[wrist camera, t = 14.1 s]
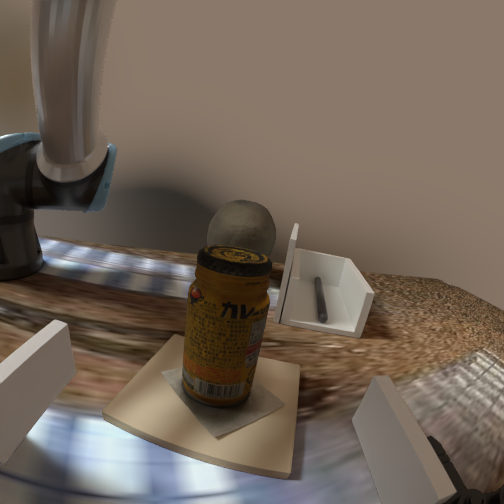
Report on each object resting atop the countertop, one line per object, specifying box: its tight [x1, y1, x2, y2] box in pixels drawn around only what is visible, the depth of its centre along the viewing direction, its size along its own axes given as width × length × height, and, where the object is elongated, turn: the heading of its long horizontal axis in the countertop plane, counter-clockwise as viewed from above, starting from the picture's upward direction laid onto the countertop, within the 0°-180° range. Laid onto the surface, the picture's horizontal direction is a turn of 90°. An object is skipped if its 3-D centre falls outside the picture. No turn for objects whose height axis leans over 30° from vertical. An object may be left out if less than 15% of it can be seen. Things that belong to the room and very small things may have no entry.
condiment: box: [161, 245, 285, 437], centre depth 20 cm, size 7×8×12 cm
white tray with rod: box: [273, 224, 375, 338], centre depth 47 cm, size 13×22×12 cm, turn 170°
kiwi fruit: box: [207, 200, 276, 257], centre depth 57 cm, size 14×14×15 cm
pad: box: [102, 334, 300, 480], centre depth 22 cm, size 14×14×1 cm
